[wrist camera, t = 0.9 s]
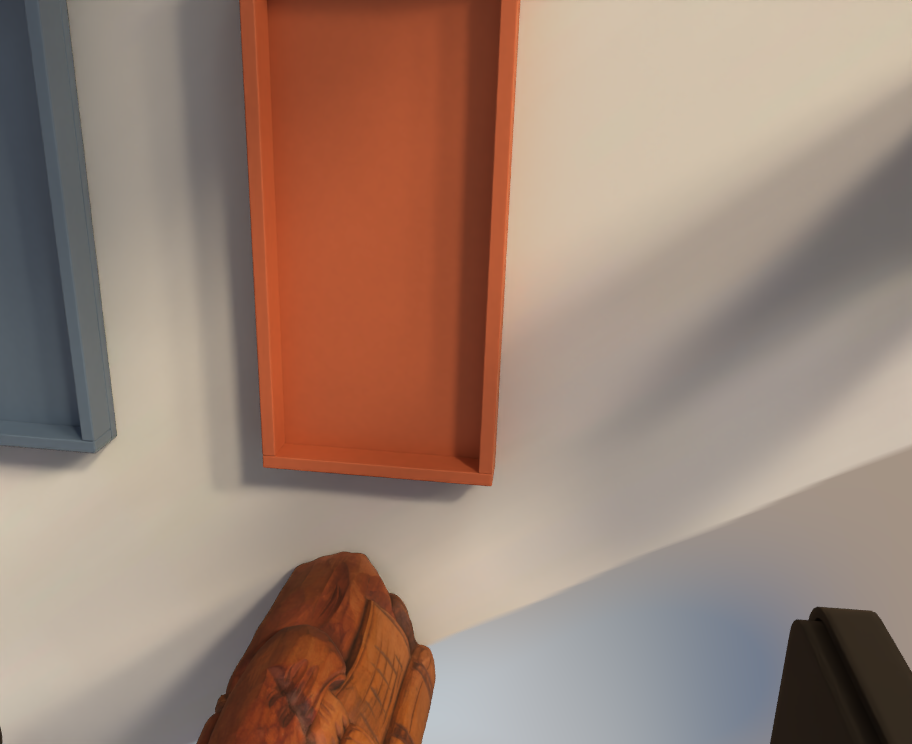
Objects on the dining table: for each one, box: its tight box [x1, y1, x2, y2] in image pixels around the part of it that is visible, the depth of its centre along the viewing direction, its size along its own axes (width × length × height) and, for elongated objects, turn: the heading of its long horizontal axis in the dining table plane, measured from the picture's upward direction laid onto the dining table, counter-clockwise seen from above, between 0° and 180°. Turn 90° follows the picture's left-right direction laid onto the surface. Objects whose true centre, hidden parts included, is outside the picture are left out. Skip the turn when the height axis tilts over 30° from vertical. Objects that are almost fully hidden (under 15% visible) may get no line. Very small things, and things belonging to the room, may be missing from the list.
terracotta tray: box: [239, 0, 520, 486], centre depth 34 cm, size 21×10×2 cm, turn 178°
